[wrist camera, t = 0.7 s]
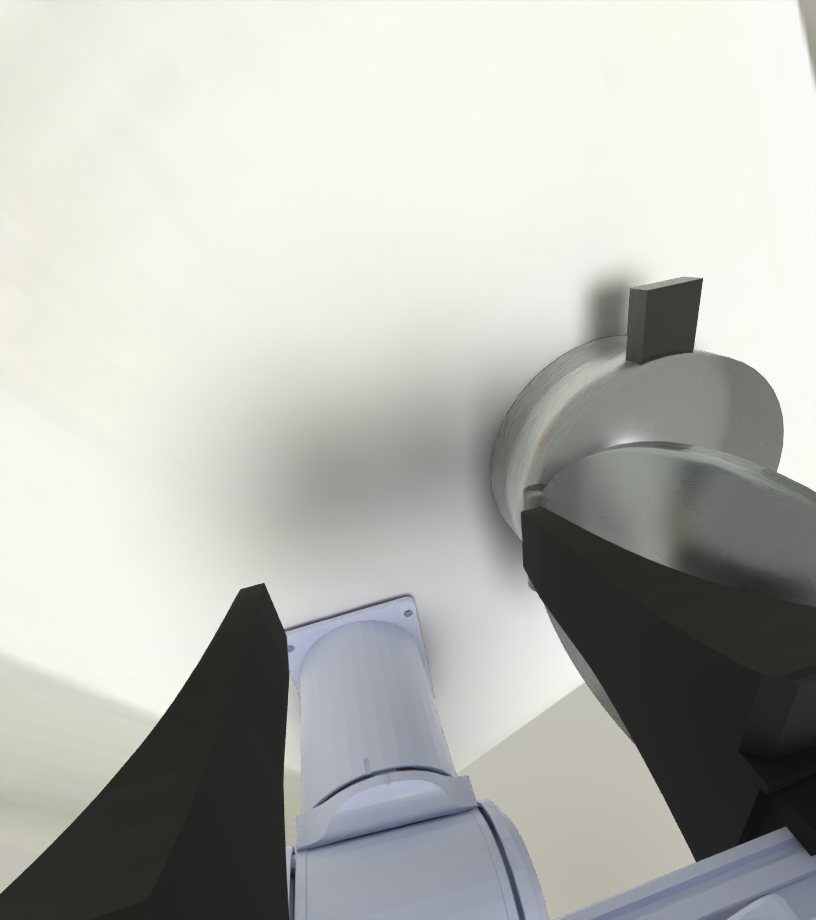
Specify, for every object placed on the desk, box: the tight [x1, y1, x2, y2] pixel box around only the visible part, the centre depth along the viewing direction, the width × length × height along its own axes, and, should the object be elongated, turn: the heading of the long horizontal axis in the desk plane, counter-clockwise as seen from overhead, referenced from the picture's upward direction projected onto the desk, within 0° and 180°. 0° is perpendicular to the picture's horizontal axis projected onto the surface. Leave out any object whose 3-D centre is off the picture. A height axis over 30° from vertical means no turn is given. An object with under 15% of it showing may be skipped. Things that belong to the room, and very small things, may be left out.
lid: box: [523, 441, 816, 744], centre depth 13 cm, size 13×17×1 cm
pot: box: [491, 277, 784, 542], centre depth 23 cm, size 19×13×5 cm
